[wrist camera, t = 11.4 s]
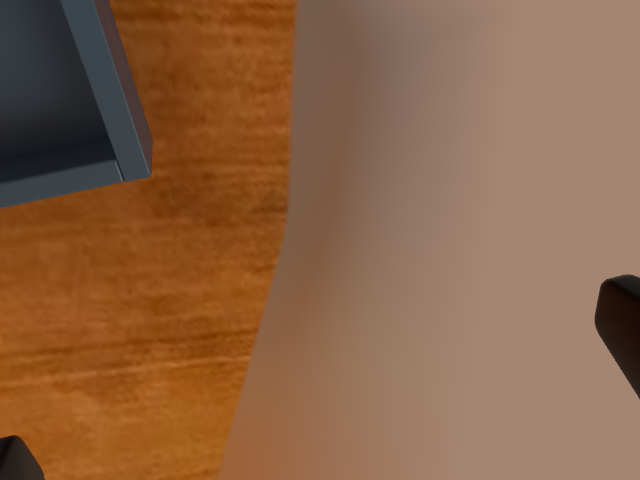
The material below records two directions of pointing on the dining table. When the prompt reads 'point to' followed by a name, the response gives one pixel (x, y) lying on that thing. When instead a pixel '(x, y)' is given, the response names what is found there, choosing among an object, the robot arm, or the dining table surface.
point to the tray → (66, 102)
